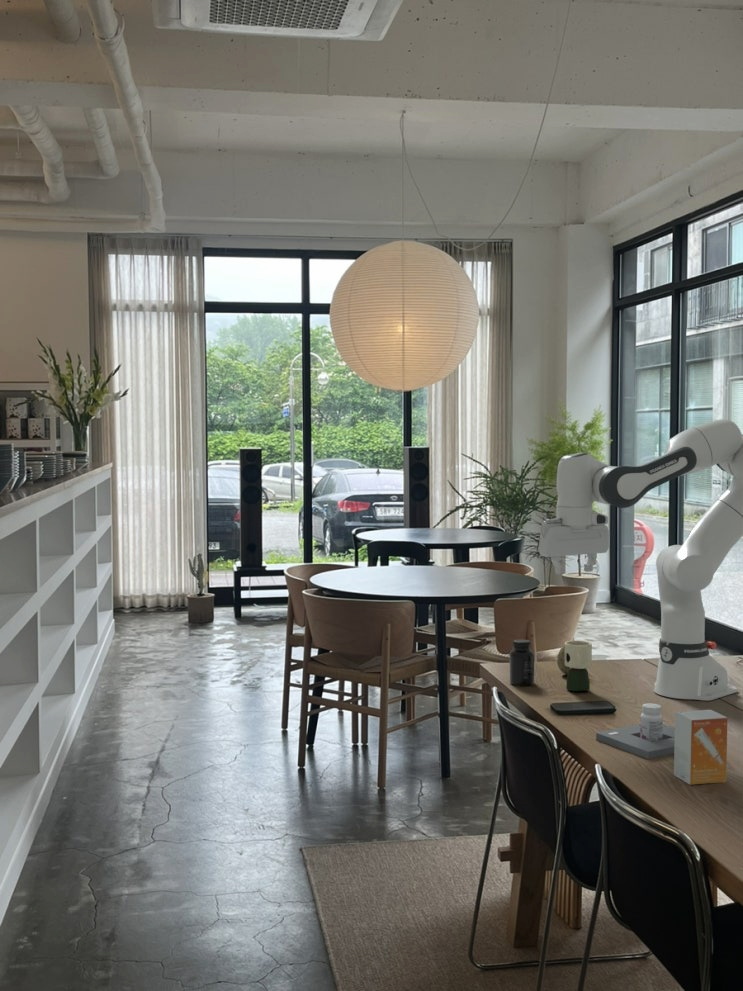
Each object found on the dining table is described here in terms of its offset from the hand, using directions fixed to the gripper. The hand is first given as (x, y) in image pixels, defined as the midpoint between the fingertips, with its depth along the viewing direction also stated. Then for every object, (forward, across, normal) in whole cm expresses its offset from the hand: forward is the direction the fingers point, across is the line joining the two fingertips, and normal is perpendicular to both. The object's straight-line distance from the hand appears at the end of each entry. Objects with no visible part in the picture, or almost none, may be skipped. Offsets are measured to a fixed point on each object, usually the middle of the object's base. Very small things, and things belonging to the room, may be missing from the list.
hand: (574, 572), depth 248 cm
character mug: (+34, +12, +12) cm, 38 cm away
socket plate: (+34, -5, -32) cm, 47 cm away
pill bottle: (+34, -5, -32) cm, 47 cm away
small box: (+34, -14, -54) cm, 65 cm away
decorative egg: (+34, +22, +27) cm, 49 cm away
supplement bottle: (+34, +4, +26) cm, 43 cm away
